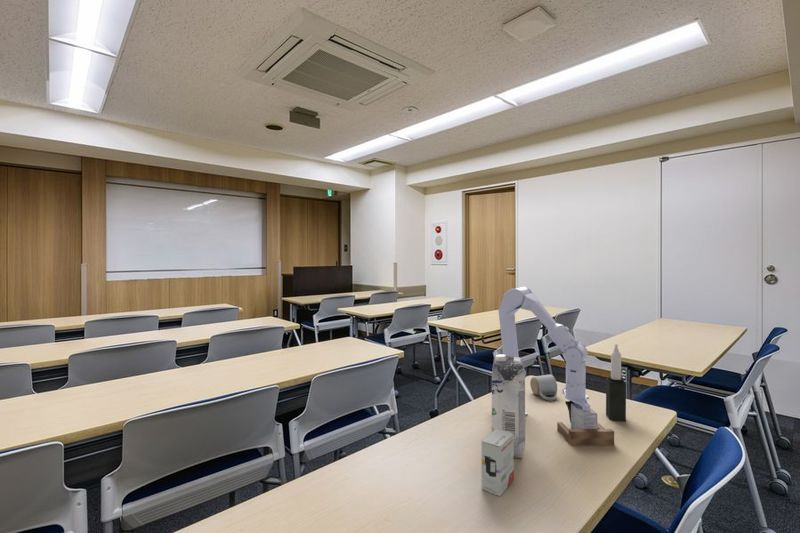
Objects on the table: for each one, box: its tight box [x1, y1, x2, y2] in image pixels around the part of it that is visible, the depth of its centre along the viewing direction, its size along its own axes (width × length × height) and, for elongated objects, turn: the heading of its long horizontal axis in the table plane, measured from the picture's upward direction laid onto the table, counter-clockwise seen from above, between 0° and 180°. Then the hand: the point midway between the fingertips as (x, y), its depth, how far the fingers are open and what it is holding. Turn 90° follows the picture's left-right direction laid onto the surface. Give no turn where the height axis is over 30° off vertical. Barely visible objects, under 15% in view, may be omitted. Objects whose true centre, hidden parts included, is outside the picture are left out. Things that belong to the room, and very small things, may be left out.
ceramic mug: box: [529, 374, 558, 402], centre depth 146 cm, size 11×8×8 cm
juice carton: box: [491, 353, 526, 459], centre depth 106 cm, size 9×10×27 cm
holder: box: [556, 421, 615, 446], centre depth 113 cm, size 12×10×4 cm
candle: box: [605, 343, 627, 422], centre depth 125 cm, size 5×5×25 cm
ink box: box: [481, 429, 515, 497], centre depth 90 cm, size 9×5×12 cm, turn 141°
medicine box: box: [570, 403, 599, 429], centre depth 113 cm, size 8×4×9 cm, turn 1°
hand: (575, 424), depth 119 cm, fingers closed
